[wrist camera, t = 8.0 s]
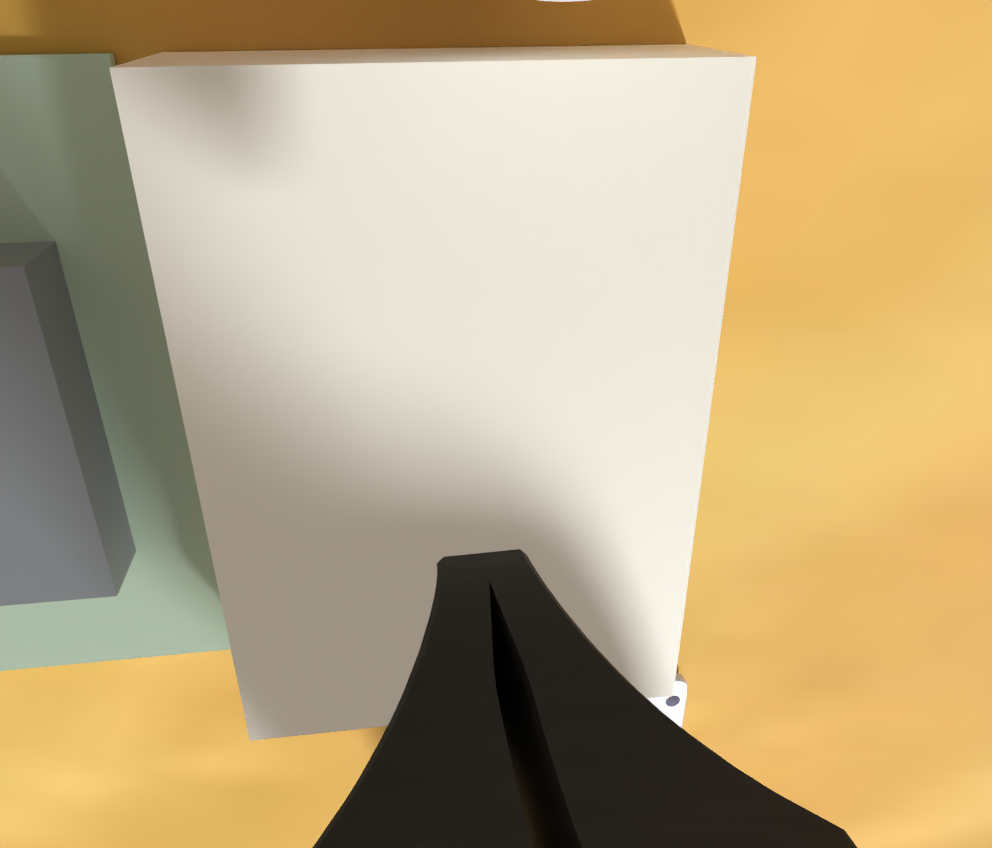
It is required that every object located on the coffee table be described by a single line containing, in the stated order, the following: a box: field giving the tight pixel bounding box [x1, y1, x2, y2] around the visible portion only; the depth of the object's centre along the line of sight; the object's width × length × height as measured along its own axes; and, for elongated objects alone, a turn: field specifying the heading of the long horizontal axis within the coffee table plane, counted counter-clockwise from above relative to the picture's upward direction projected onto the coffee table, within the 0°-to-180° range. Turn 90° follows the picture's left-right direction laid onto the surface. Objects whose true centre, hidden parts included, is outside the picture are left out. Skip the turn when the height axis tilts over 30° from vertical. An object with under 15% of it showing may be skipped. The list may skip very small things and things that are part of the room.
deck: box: [109, 44, 756, 741], centre depth 21 cm, size 17×12×4 cm
